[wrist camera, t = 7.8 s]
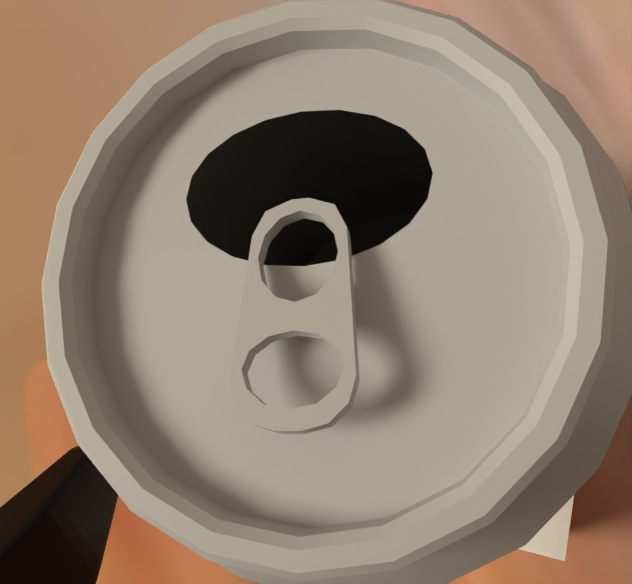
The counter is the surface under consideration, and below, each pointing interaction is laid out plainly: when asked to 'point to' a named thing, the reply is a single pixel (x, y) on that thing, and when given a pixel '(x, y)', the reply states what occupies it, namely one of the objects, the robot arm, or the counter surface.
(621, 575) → the counter surface
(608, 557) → the counter surface
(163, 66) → the can
